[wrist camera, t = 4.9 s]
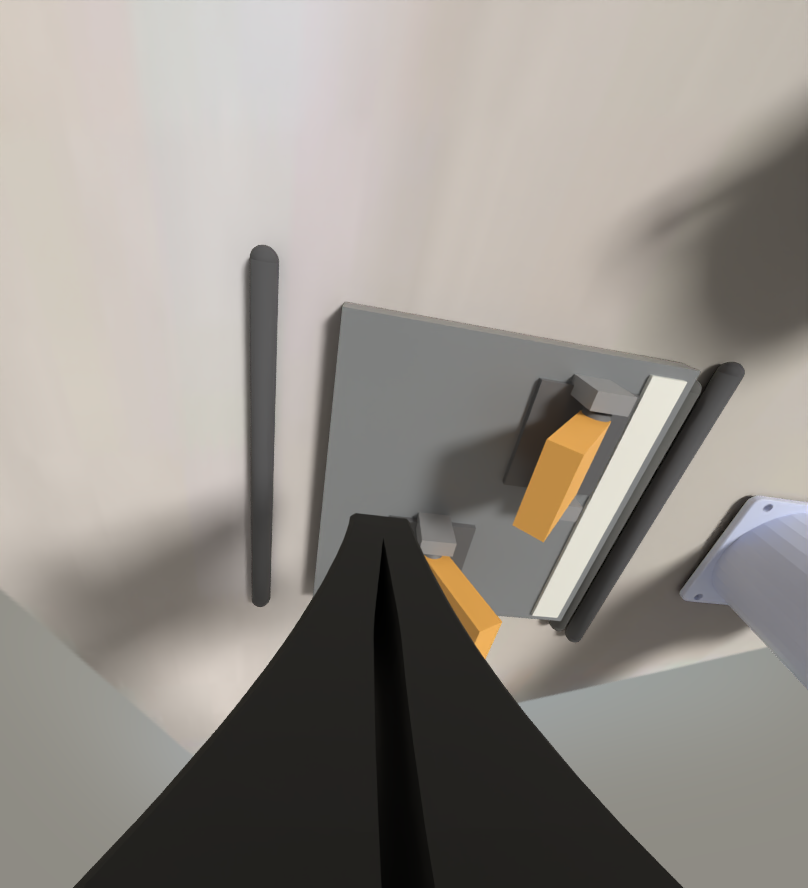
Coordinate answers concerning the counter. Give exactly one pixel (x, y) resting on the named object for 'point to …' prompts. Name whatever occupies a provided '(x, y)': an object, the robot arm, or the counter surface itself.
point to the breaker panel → (485, 446)
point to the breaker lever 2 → (560, 472)
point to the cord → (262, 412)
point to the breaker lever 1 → (466, 602)
